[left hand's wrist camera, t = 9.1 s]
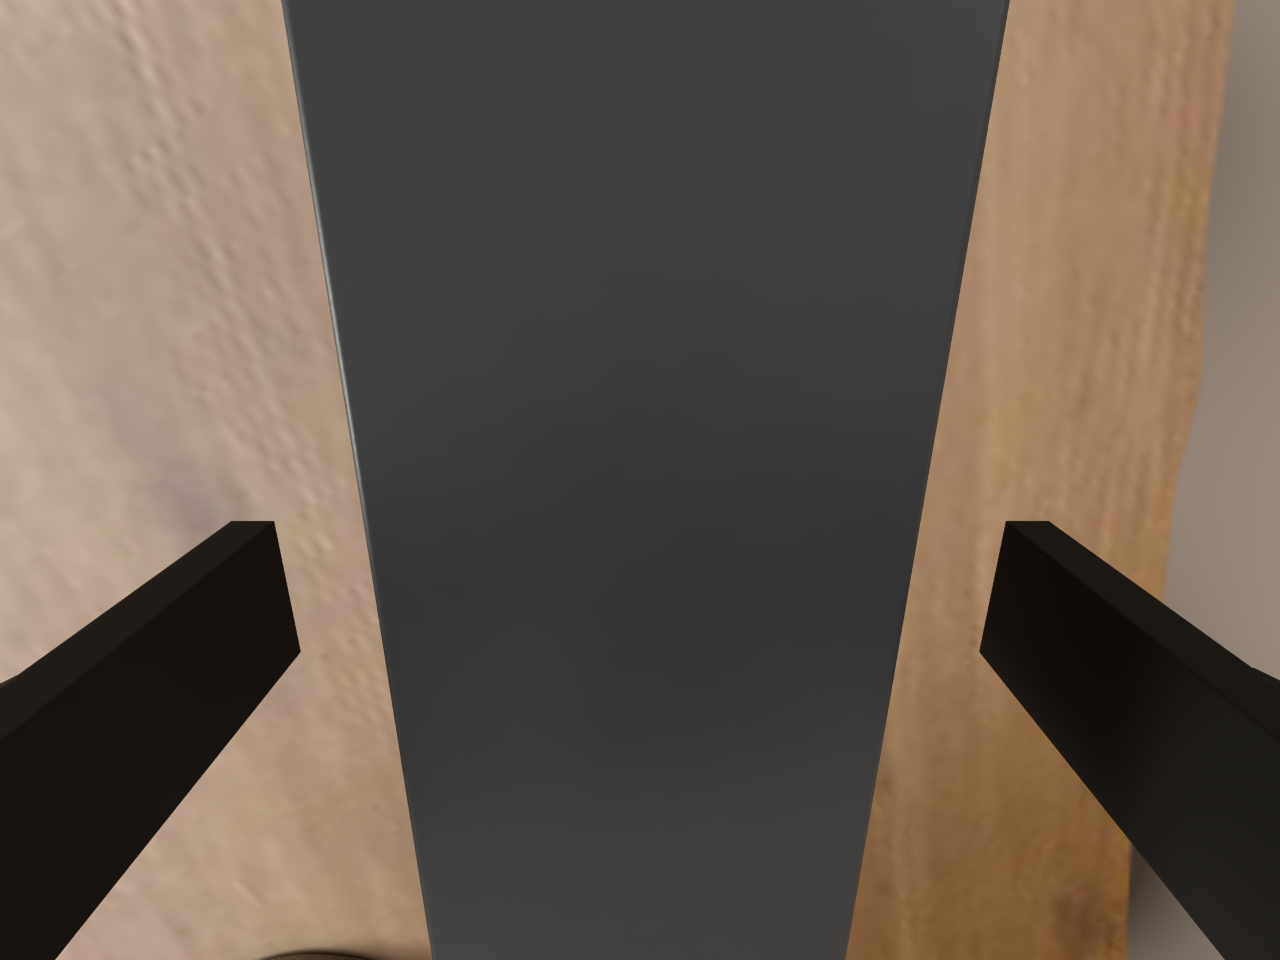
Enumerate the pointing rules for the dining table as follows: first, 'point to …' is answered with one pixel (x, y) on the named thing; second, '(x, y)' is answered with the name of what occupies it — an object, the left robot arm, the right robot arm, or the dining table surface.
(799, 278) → the bar
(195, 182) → the dining table surface
